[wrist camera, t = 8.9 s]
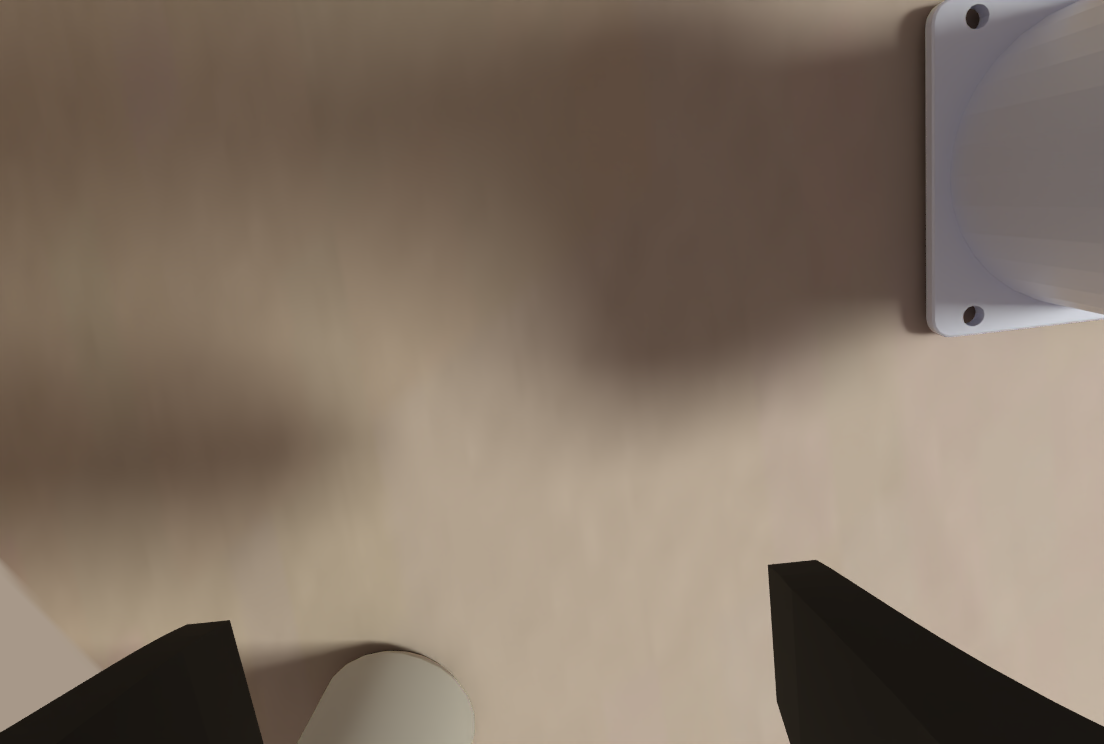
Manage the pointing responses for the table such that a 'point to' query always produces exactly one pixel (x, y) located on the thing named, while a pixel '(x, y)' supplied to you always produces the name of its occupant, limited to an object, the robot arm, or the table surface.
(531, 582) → the table surface
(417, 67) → the table surface
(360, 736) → the beverage can
